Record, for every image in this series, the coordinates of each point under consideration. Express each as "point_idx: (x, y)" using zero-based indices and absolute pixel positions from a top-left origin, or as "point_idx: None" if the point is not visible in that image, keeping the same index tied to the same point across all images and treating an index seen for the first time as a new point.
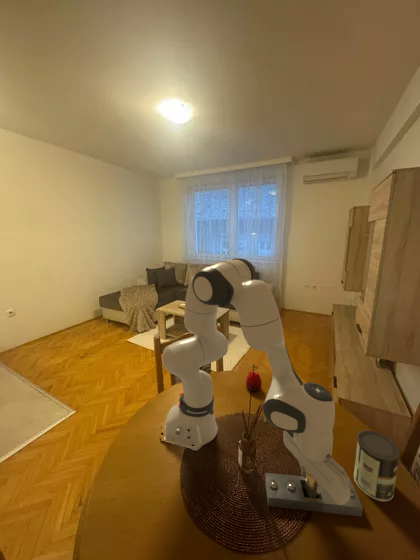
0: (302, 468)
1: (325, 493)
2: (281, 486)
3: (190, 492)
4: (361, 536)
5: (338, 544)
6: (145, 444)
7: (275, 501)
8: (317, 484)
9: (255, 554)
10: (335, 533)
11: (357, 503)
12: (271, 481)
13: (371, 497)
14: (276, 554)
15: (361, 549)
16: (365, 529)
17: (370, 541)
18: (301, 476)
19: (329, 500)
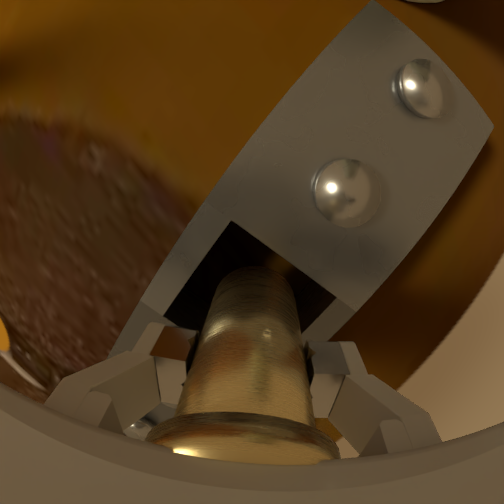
0: (139, 412)
1: (330, 243)
2: (157, 410)
3: None
4: (480, 216)
5: (431, 323)
6: None
7: None
8: (320, 397)
9: None
10: (414, 303)
11: (474, 124)
12: (127, 431)
13: (427, 2)
14: None
15: (487, 261)
16: (481, 173)
17: (500, 203)
18: (148, 288)
19: (372, 263)
